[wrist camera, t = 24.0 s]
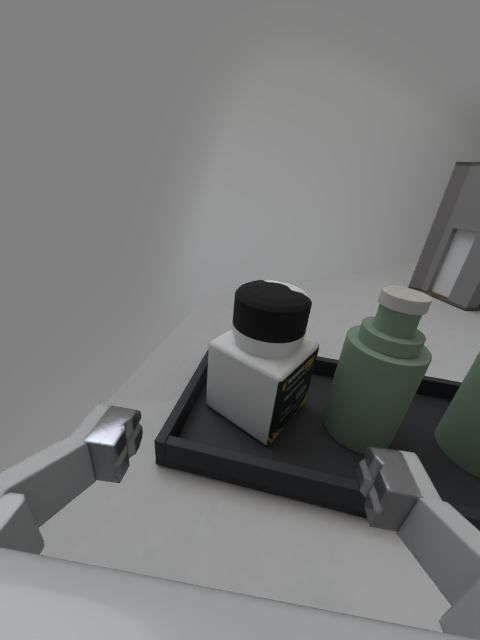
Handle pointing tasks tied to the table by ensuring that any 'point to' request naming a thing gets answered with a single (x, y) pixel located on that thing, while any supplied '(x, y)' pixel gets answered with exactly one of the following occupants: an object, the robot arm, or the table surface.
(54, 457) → the robot arm
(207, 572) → the table surface
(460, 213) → the grey toy building
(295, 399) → the medicine bottle
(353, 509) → the tray
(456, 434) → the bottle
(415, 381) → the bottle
